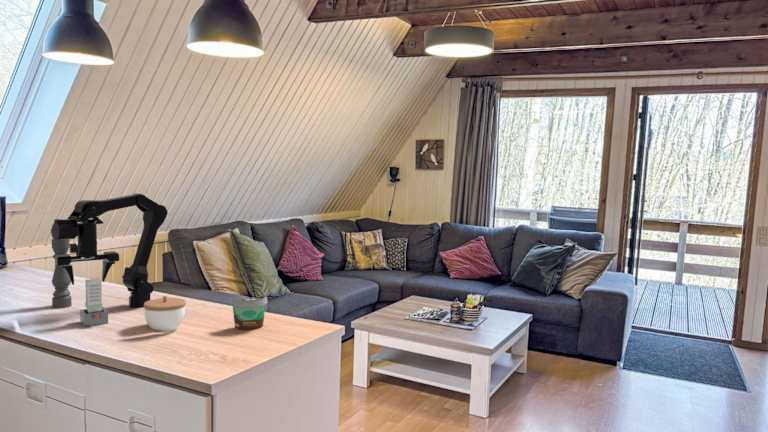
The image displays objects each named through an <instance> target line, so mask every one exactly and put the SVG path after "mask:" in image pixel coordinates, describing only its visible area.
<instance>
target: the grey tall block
mask: <svg viewBox="0 0 768 432" xmlns="http://www.w3.org/2000/svg"><path fill="white" fill-rule="evenodd" d="M102 285H103V283H102V279H100V278H89V279H85V303H84V305H85V306H84V307H85V309H86V312H87V313H88V314H90V313H98V312H102V307H103V300H102V299H103V295H102V294H103V291H102V290H103V289H102Z"/></svg>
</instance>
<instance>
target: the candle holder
mask: <svg viewBox="0 0 768 432" xmlns="http://www.w3.org/2000/svg"><path fill="white" fill-rule="evenodd" d="M70 244H71V243H70V239H66V240H54V239H53V238H52V239H51V249H52V251H53V253H54V254H53V255H52V258H53V259H54V260H55V256H56V255H64V254H68V251H70ZM51 284H52V286H53V287H54V291H53V293H52V295H53V296H52V297H51V298H52V299H51V304H52V305H51V307H52V308H53V309H65V308H69V307H71V306H72V296H71V291H69V286H70V285H71V284H72V283H71V280H70V278H69V275H68V273H67V271H66V269H65V268H62V267H61V266H58V265H56V264H55V263H54V271H53V275H52V279H51Z"/></svg>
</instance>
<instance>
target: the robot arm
mask: <svg viewBox="0 0 768 432" xmlns="http://www.w3.org/2000/svg"><path fill="white" fill-rule="evenodd" d="M134 206H136V208H137V209H138V210H139V211H140V212H142V213H143V214H142V221H143V229H142V231H141V236H140V238H139V243H138V246H137V249H136V253H135V255H134V259H133V262H132V264H131V265H130V266H129V267H128V266H126V267H125V268H124V272H123V275H122V276H121V278H122V284H123V285H124V287H125V288H126V289H127V292H130V296H128V307H129V308H130V309H132V308H133V309H135V308H137V309H138V308H139V309H141V308H144V303H145V302H146V301H149V300H151V294H152V293H153V291H154V289H155V287H154V286H153V284H151V283H150V282H149V281H148V280H149V272H148V264H149V260H150V258H151V253H152V251H153V247H154V243H155V239H156V237H157V233H158V230H159V229H160V227H161V226H162V225H164V223H165V220H166V219H167V216H168V213H169V212H168V209H167V207H166V206H165V205H163V204H158V202H156V201H153V200H152V199H150V198H149V197H147V196H146V195H145V194H143V193H132V194H129V195H123V196H117V197H112V198H107V199H99V200H98V199H97V200H95V199H91V200H90V199H89V200H87V199H85V200H84V199H82V200H79V201H77V202H76V204H75V205H74V209H73V210H72V212H70V215H68V217H67V218H66V219H65V218H64V219H59V218H56V219H54V221H53V224H52V226H51V229H50V234H51V237H52V239H54V240H66V239H69V240H74V239H76V237H77V243H74V242H73V243H70V247H69V253H70V254H75V255H73V256H71V255H70V254H69V253H67V254H64V255H56V256H55V259H54V265H55V264H56V265H58V266H61V267H62V268H65V269H66V271H67V273H68V275H69V278H70V280H71V283H70V284H71V285H72V286H74V285H75V280H74V279H75V277H74V269H73V268H74V267H73V265H72V264H71V263H75V262H76V263H77V262H78V263H79V262H86V261H88V262H89V261H102V272H101V273H102V274H101V281H102V282H103V283H104V282H105V280H106V278H107V275H108V273H109V271H110V269H111V267H112V265H115V264H116V262H119V261H120V254H119V253H118V252H117V251H116V250H115V251H114V250H112V251H111V250H110V251H103V254H98V231H97V230H98V229H97V228H98V227H97V225H102V224H104V221H103V220H101V219H100V218H99V216H100V217H101V216H102V215H104V214H105V213H107V212H111V211H115V210H119V209H124V208H129V207H134Z"/></svg>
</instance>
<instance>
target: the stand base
mask: <svg viewBox="0 0 768 432" xmlns="http://www.w3.org/2000/svg"><path fill="white" fill-rule="evenodd" d="M79 320H80V323H81V325H82V326H83V327H93V326H100V325H107V324H109V311H108V310H107V309H106V308H105V307H103V306H102V312H98V313H90V314H88V313H87V312H86V308H85V309H80V310H79Z"/></svg>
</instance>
